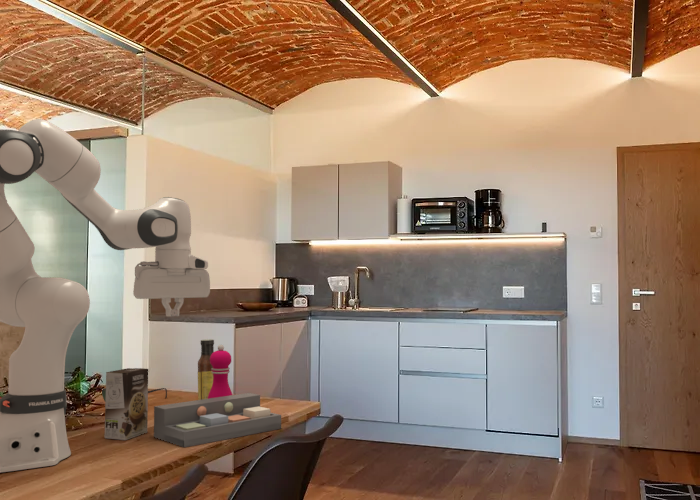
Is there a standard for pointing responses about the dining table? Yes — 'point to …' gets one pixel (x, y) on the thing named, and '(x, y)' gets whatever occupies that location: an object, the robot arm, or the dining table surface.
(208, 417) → the key slate
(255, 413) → the key cream
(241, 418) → the key terracotta
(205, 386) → the sauce bottle
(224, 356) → the pepper mill
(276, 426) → the keypad
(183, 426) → the key sage
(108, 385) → the cookie box
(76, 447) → the dining table surface
